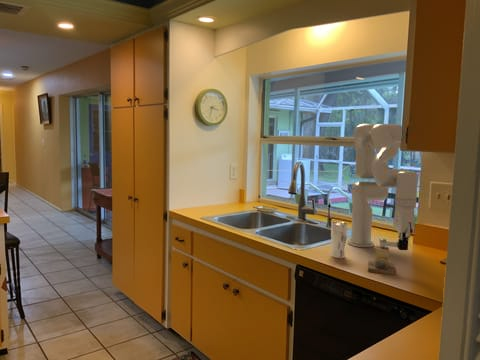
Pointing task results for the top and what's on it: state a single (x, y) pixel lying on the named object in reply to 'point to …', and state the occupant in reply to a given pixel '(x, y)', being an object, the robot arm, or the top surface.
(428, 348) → the top surface
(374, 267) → the valve
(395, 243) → the valve lever
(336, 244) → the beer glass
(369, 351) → the top surface
